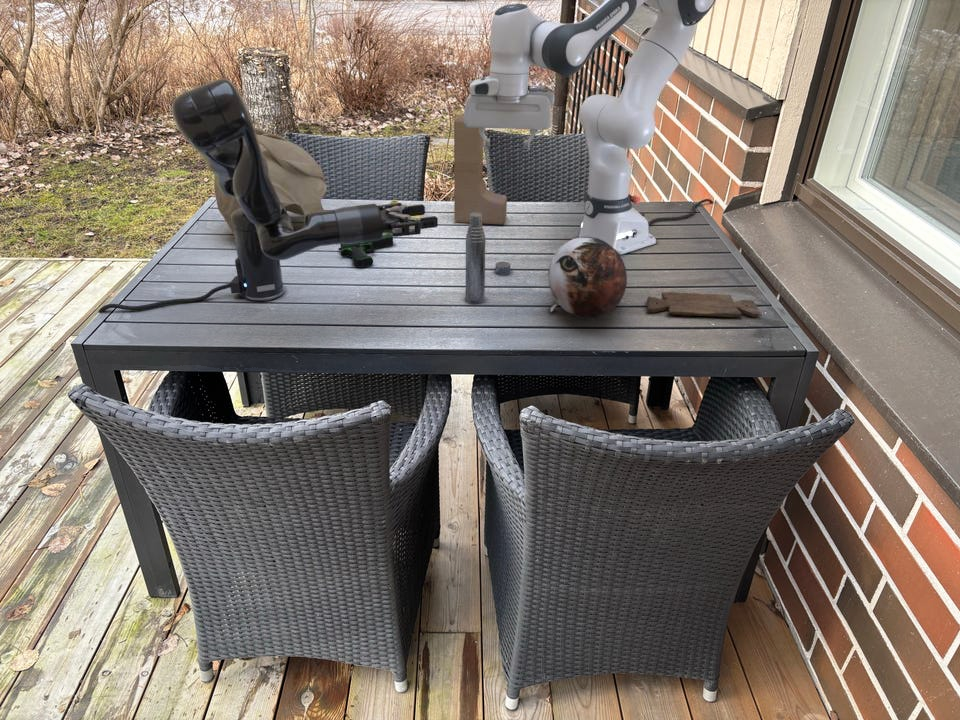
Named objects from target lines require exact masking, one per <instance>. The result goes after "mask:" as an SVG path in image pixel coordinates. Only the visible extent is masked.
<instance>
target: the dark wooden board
mask: <svg viewBox="0 0 960 720" xmlns="http://www.w3.org/2000/svg"><path fill="white" fill-rule="evenodd" d="M661 297H662V298H659V297H656V296H648V297H647V301H646V302H647V303H646V309H647V313H650V314H652V313H658V312H663V311H667V310H668V315H674V316H699V317H718V318H719V317H721V318H741V317H742V315H745V316H749V317H751V318H753V317H758V318H759V317H761V316H762V315H761V314H762V313H761V312H760V310H759V308H758V306H757V304H756V303H755V301H754V300H751V299H741V300H738V301H734V300H733V297H732V295H731V294H718V293H696V292H692V293H691V292H671V291H669V292H667V291H666V292H664V291H663V292H661Z"/></svg>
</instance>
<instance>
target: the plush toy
mask: <svg viewBox="0 0 960 720" xmlns="http://www.w3.org/2000/svg"><path fill="white" fill-rule="evenodd" d="M547 274H548V275H547V276H548V277H547V279H548V286H549V289H550V292H551V294H552V296H553V298H554V300H555V301H556V302H557V303H555V304H554V305H552V306H551V307H550V309H549V310H550V313H552V312H553V311H554V310H555V309H556V307H557V306H558V305H559V306H560V307H561V308H562V309H563V310H565V311H566V312H567V313H569V314H570V315H572V316H575V317H578V318H582V319H597V318H601V317H604V316H606V315H607V314H609V313H610V312H612V311H613V310H615V309H616V308H617V306H618V305H619V304H620V303H621V301H622V300H623V297H624V295H625V292H626V289H627V283H628V273H627V269H626V265H625V262H624V260H623V257H622V256H621V254H619V253H618V252H617V251H616V250H615V249H614V248H613V247H612V246H611V245H610V244H608V243H607V242H605V241H604V240H601V239H598V238H594V237H579V236H578V237H575V238H572V239H570V240H567V241H566V242H564V243H563V244H562V245H561V246H560V247H559V248H558V249H557V250H556V251H555V253H554V254H553V255H552V257H551V260H550V263H549V267H548V272H547Z"/></svg>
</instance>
